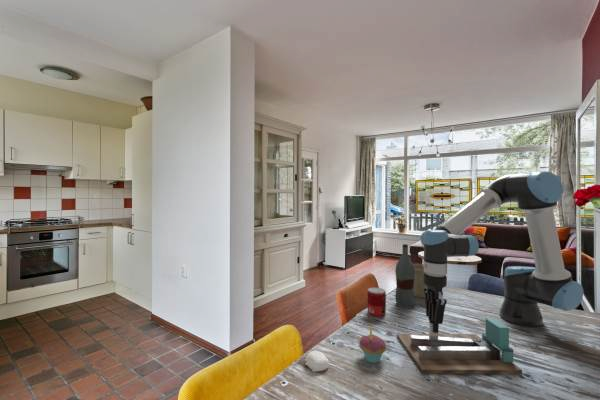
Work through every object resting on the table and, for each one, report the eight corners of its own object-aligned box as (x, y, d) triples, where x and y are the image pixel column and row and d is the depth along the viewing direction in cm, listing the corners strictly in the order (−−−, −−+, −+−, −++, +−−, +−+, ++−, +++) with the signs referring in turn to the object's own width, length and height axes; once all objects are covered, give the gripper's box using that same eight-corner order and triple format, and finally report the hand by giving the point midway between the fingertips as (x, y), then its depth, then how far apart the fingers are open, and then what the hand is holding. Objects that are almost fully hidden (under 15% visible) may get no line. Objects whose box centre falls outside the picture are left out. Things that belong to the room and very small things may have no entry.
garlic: (301, 362, 93) (301, 350, 93) (319, 357, 96) (319, 345, 96) (313, 375, 86) (313, 363, 86) (332, 370, 89) (332, 357, 89)
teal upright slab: (490, 344, 101) (490, 316, 101) (513, 362, 90) (513, 330, 90) (482, 344, 101) (482, 316, 101) (503, 362, 90) (503, 330, 90)
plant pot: (410, 300, 149) (410, 269, 149) (405, 291, 164) (405, 263, 164) (441, 301, 147) (441, 270, 147) (432, 292, 162) (432, 264, 162)
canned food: (386, 318, 127) (386, 293, 127) (367, 316, 129) (367, 292, 129) (384, 311, 135) (384, 287, 135) (367, 310, 136) (367, 286, 136)
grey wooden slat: (470, 347, 100) (470, 338, 100) (473, 351, 97) (474, 342, 97) (410, 343, 102) (410, 334, 102) (412, 346, 100) (412, 338, 100)
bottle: (392, 301, 147) (393, 243, 147) (410, 301, 147) (411, 243, 147) (398, 308, 138) (398, 246, 138) (417, 308, 138) (418, 246, 138)
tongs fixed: (485, 348, 99) (485, 338, 99) (499, 360, 92) (500, 350, 92) (412, 347, 99) (412, 338, 99) (421, 359, 92) (421, 349, 92)
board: (475, 337, 110) (475, 334, 110) (522, 374, 87) (522, 370, 87) (396, 336, 110) (396, 333, 110) (422, 373, 87) (422, 369, 87)
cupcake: (381, 369, 89) (381, 330, 89) (355, 360, 93) (355, 324, 93) (388, 356, 96) (388, 320, 96) (364, 349, 101) (364, 315, 101)
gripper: (417, 269, 108) (415, 331, 109) (432, 279, 95) (431, 349, 96) (437, 269, 108) (435, 331, 108) (455, 279, 95) (453, 350, 95)
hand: (433, 340), depth 102 cm, fingers closed
